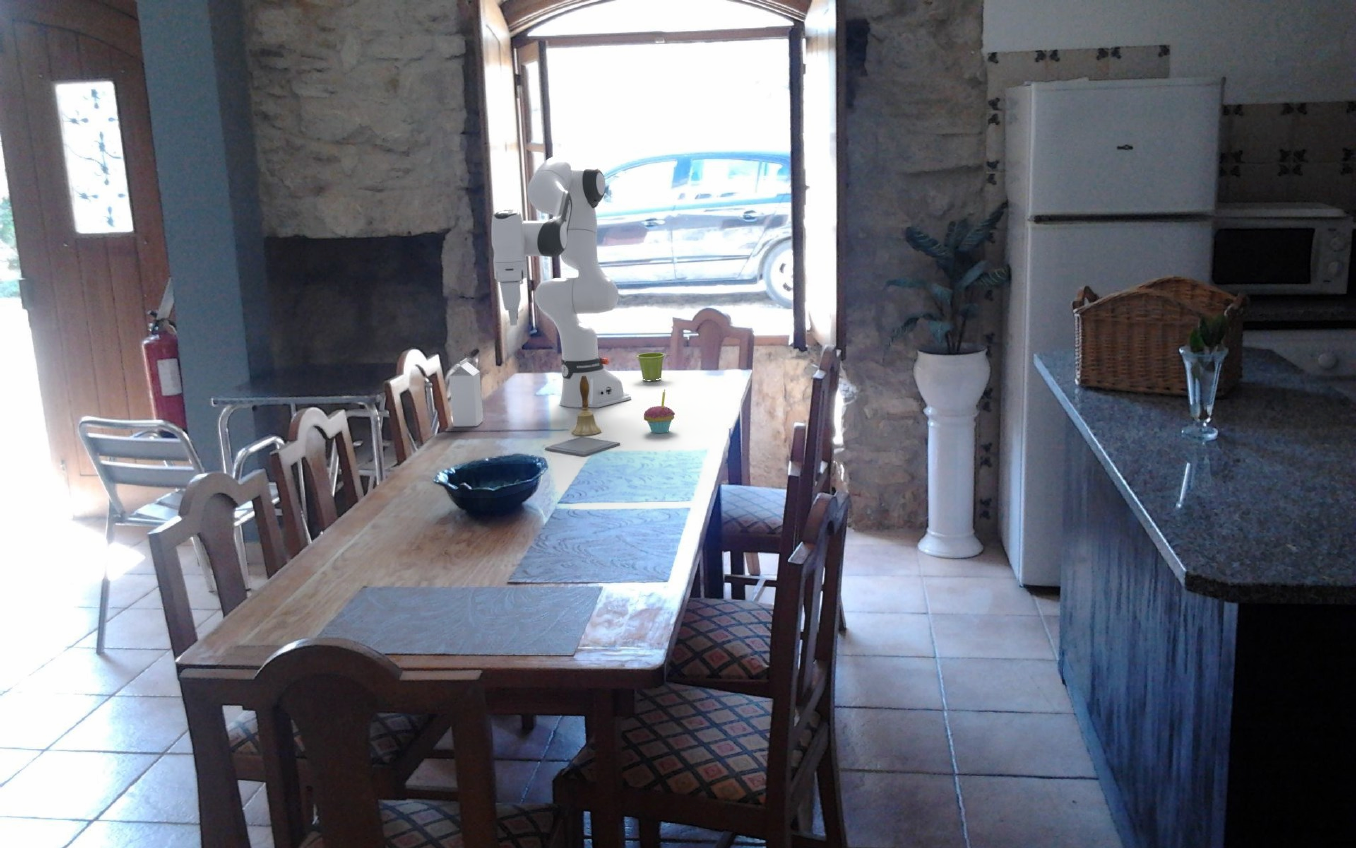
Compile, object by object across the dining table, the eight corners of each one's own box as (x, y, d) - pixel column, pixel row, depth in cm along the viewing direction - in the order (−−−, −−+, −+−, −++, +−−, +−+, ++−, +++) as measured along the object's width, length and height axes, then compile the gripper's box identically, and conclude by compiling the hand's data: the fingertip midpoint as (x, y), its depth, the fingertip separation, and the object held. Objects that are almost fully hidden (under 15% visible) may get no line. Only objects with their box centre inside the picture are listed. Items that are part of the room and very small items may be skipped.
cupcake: (679, 428, 324) (677, 386, 321) (669, 435, 316) (667, 392, 313) (650, 427, 327) (648, 385, 324) (639, 434, 319) (637, 391, 316)
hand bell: (571, 429, 328) (568, 374, 324) (601, 428, 328) (598, 372, 325) (571, 436, 320) (568, 379, 316) (601, 435, 320) (598, 378, 317)
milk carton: (483, 421, 343) (478, 357, 338) (477, 426, 336) (472, 361, 331) (460, 421, 343) (454, 358, 339) (453, 427, 337) (447, 362, 332)
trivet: (581, 438, 317) (581, 436, 317) (620, 444, 308) (619, 442, 308) (545, 449, 306) (544, 447, 306) (584, 456, 298) (583, 454, 297)
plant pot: (655, 383, 389) (654, 358, 387) (632, 381, 394) (631, 356, 392) (671, 378, 396) (670, 353, 394) (648, 376, 401) (647, 351, 400)
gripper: (500, 268, 323) (504, 317, 326) (496, 276, 303) (500, 328, 307) (523, 267, 324) (527, 316, 327) (521, 275, 304) (524, 327, 307)
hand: (514, 322), depth 317 cm, fingers open, 8 cm apart
